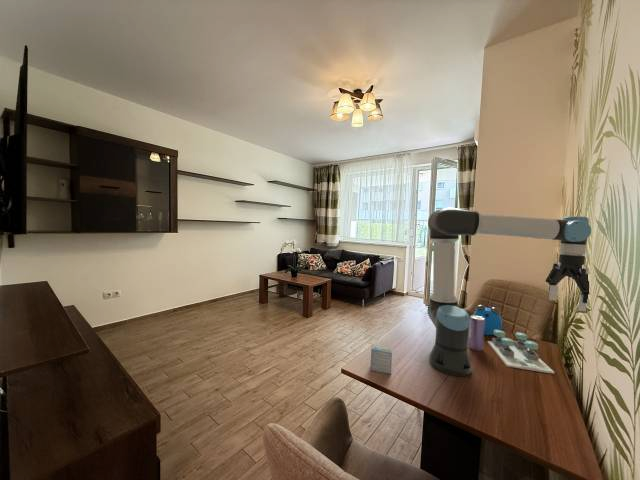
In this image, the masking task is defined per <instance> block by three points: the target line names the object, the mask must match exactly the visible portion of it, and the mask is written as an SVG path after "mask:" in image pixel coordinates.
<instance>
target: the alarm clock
mask: <svg viewBox="0 0 640 480" xmlns="http://www.w3.org/2000/svg"><path fill="white" fill-rule="evenodd" d="M474 309H475V311H474V313H473V315H477V316H481V317H483V318H485V328H484V335H485V336H493V335H494V330H501V329H502V327H503V319H502V317H501V314H502V313H501V310H500V309H499V307H496V306H491V307H490V306H487V307H486V306H485V305H484V304H477V305H476V306H475V307H474ZM501 331H502V330H501ZM494 336H495V335H494Z"/></svg>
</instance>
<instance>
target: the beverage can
mask: <svg viewBox="0 0 640 480" xmlns="http://www.w3.org/2000/svg"><path fill="white" fill-rule="evenodd" d="M469 320H470V325H469V334H468V346H467V347H468V348H469V349H470V350H472V351H476V352H482V350H484V349H483V348H484V340H485V339H484V337H485V334H484V328H485V318H483V317H481V316H477V315H474V314H472V315H470V316H469Z"/></svg>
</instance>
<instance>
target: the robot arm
mask: <svg viewBox="0 0 640 480" xmlns="http://www.w3.org/2000/svg"><path fill="white" fill-rule="evenodd" d="M427 220H428V221H427V226H428V228H429V239H430V241H432V242H433V243H432V244H433V258H432V259H433V262H432V263H433V266H432V267H433V272H432V274H433V275H432V277H433V278H432V279H433V281H432V283H433V284H432V286H433V289H432V294H431V295H430V296H429V302H428V305H427V315H428V318H429V319H430V320H431V322H432V324H433V326H434V328H435V339H434V340H435V342H434V344H433V347H432V350H431V352H430V354H429V363H430V365H431V366H432V368H434V369H436V370H437V371H439V372H441V373H444V374H446V375H449V376H453V377H465V376H469V375H470V374H471V373H472V364H471V360H470V356H469V353H468V347H469V346H468V338H469V325H470V314H469V313H468V312H467V311H466V310H465V309H463V308H460V307H459V299H458V298H457V297H456V296H455V260H456V259H455V255H456V254H455V252H456V250H455V247H456V245H455V244H456V242H458V241H459V239H460V237H459V236H476V235H477V234H482V235H496V236H506V237H507V236H508V237H518V238H519V237H520V238H531V239H538V240H540V239H544V240H554V241H560V246H559V253H560V254H559V256H558V263H555V262H554V263H553V266H552V269H551V270H550V272H549V274H548V275H547V277H546V279H545V282H546V283H547V284H548V285H549V288H548V291H549V295H548V300H549V301H558V292H559V285H558V284H559V283H560V282H561V281H562V280H563V279H565V277H568V278H571V279H572V280H574V282H575V284H576V286H577V287H578V289H579V290H580V293H579V297H578V299H579V300H578V307H577V308H578V309H577V311H579V312H587V311H586V303H587V299H588V294H589V281H588V269H589V268H583V265H585V263H586V262H585V261H586V256H585V255H586V254H587V253H586V252H587V242H588V238H589V237H590V236H591V234H592V227H591V225H590V222H589V221H590V220H589V217H586V216H568V215H567V216H564V217H562V219H556V218H555V219H554V218H544V217H527V216H517V215H516V216H515V215H499V214H485V213H480V212H479V211H478V210H467V209H462V208H456V207H446V208H439V209H437V210H435V211H434V212H432V213H431V215H430V216H429V217H428V219H427Z"/></svg>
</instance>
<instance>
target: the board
mask: <svg viewBox="0 0 640 480" xmlns="http://www.w3.org/2000/svg"><path fill="white" fill-rule="evenodd" d="M501 340H502V338H501ZM501 340H497V337H496V338H495V337H492V338H491V341H490V340H487V344H488V345H489V346H490V348H491V349H493V351H494V352H495V354H496V355H497V356H498V357H499V358H500V359H501V361H502V363H504V364H505V366H506V367H508V368H515V369H521V370H526V371H527V370H528V371H533V372H534V371H535V372H541V373H546V374H554V375H555V371H554V370H553V369H551V367H550V366H548V364H546V363H545V362H544V361H543V360H542V359H541V358H540V356H539V353H538V354H537V353H536V351H534V350H533V353H531V352H529V348H527V347H526V346H525V341H523V343H519V340H513V341H514V346H509V349H505V345H504V344H502V343H501Z"/></svg>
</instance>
